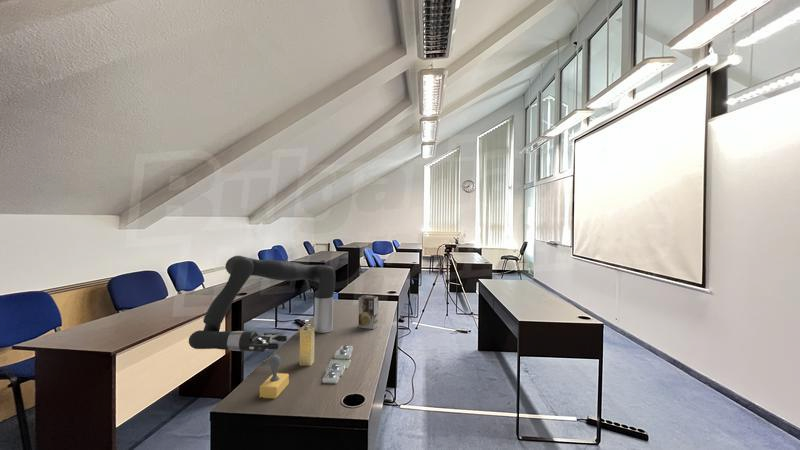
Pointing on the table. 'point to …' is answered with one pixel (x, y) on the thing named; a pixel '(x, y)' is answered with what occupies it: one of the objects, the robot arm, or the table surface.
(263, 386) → the yellow handled block
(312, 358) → the tall studded toy brick
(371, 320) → the coffee box
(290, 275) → the robot arm
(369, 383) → the table surface
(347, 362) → the studded plate chain
